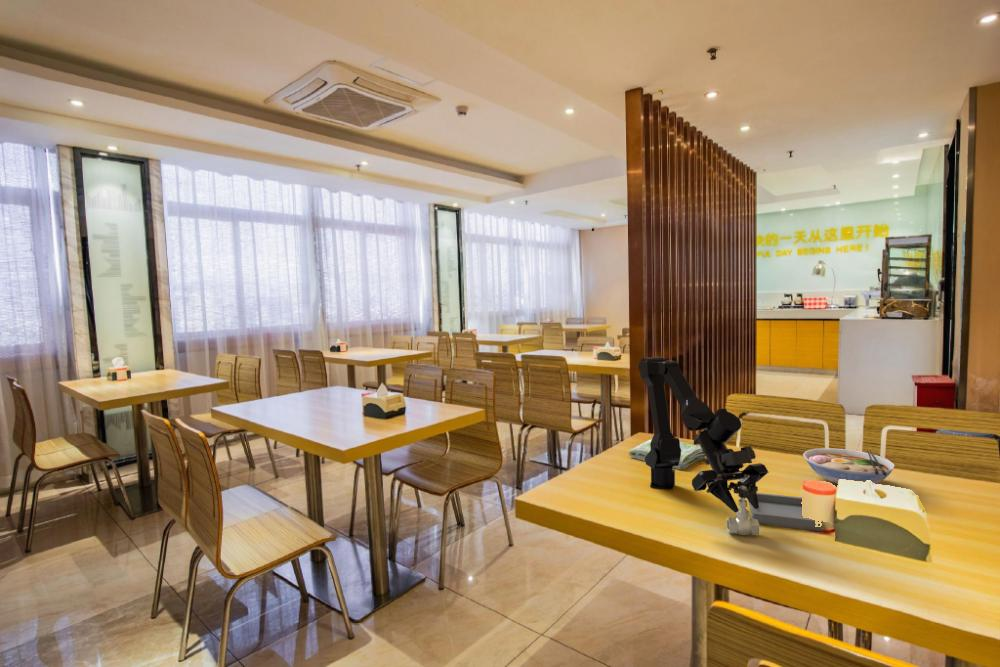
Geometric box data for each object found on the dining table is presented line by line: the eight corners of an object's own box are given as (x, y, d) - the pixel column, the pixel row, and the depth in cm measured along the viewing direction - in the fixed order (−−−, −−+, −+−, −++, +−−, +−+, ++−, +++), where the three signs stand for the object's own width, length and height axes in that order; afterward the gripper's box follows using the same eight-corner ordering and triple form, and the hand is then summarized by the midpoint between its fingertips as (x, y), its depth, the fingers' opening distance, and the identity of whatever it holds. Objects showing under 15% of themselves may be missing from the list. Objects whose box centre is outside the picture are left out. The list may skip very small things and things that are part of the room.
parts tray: (753, 523, 129) (753, 513, 128) (748, 500, 143) (748, 491, 142) (822, 531, 123) (822, 521, 123) (810, 507, 137) (810, 498, 137)
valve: (761, 541, 119) (761, 491, 118) (731, 540, 120) (731, 490, 119) (753, 529, 125) (753, 481, 125) (724, 527, 127) (724, 480, 126)
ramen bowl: (802, 465, 170) (803, 441, 169) (888, 475, 158) (888, 450, 158) (802, 490, 149) (802, 463, 148) (901, 505, 137) (902, 475, 136)
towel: (683, 472, 168) (683, 457, 168) (627, 458, 184) (627, 444, 183) (708, 459, 180) (708, 445, 180) (654, 447, 196) (654, 434, 195)
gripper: (698, 439, 123) (730, 501, 113) (763, 431, 127) (799, 490, 118) (679, 461, 131) (707, 520, 121) (740, 453, 136) (772, 510, 126)
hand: (747, 510), depth 121 cm, fingers closed on valve, 5 cm apart
